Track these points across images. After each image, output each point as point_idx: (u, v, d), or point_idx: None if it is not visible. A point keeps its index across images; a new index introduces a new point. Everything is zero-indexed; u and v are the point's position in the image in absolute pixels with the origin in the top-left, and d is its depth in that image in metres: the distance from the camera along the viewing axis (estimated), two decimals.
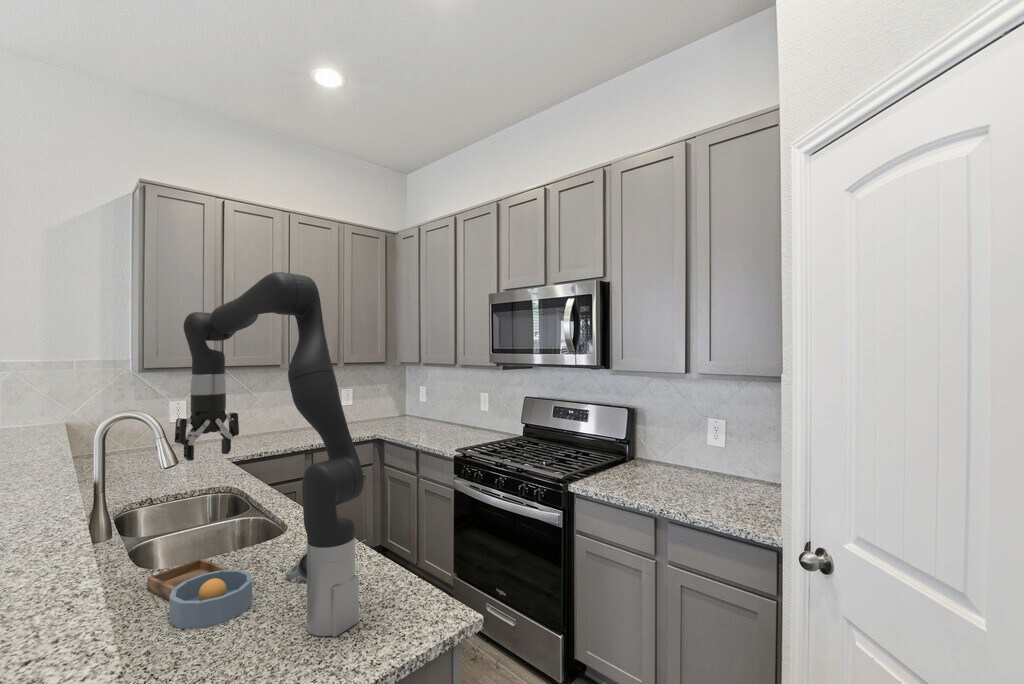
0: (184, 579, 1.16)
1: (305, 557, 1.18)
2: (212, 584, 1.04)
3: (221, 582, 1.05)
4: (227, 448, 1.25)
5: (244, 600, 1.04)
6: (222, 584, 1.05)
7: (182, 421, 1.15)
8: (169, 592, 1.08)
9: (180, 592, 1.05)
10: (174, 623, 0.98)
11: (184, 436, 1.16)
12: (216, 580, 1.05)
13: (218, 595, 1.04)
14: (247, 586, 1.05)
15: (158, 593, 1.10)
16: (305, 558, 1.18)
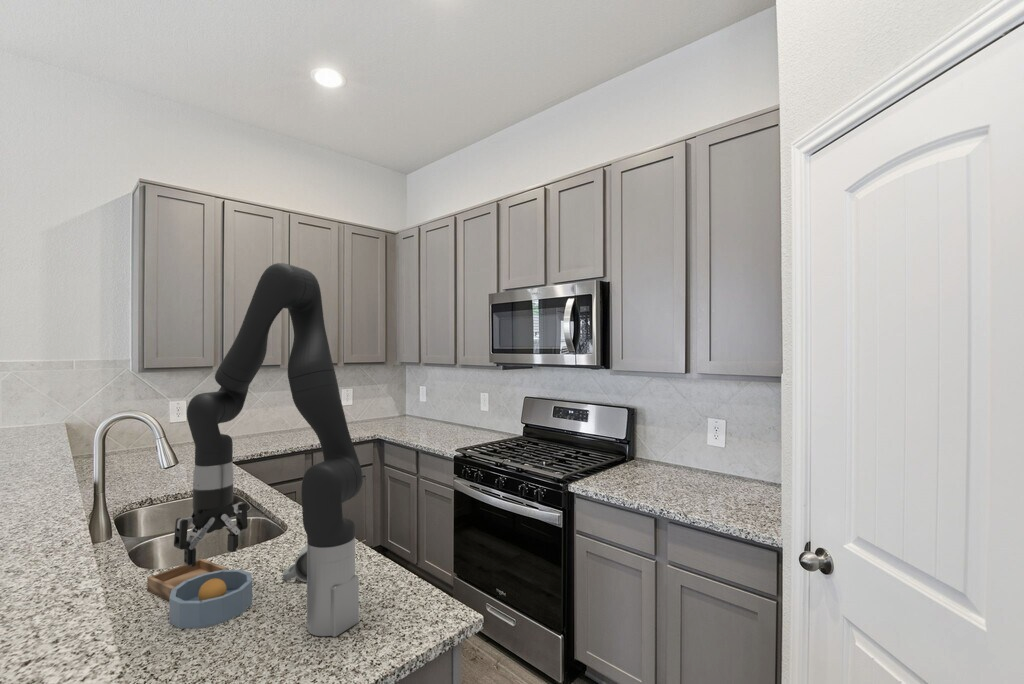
0: (184, 579, 1.16)
1: (302, 557, 1.18)
2: (212, 584, 1.04)
3: (221, 582, 1.05)
4: (234, 545, 1.08)
5: (244, 600, 1.04)
6: (222, 584, 1.05)
7: (183, 523, 0.99)
8: (169, 592, 1.08)
9: (180, 592, 1.05)
10: (174, 623, 0.98)
11: (185, 540, 1.00)
12: (216, 580, 1.05)
13: (218, 595, 1.04)
14: (247, 586, 1.05)
15: (158, 593, 1.10)
16: (302, 558, 1.18)
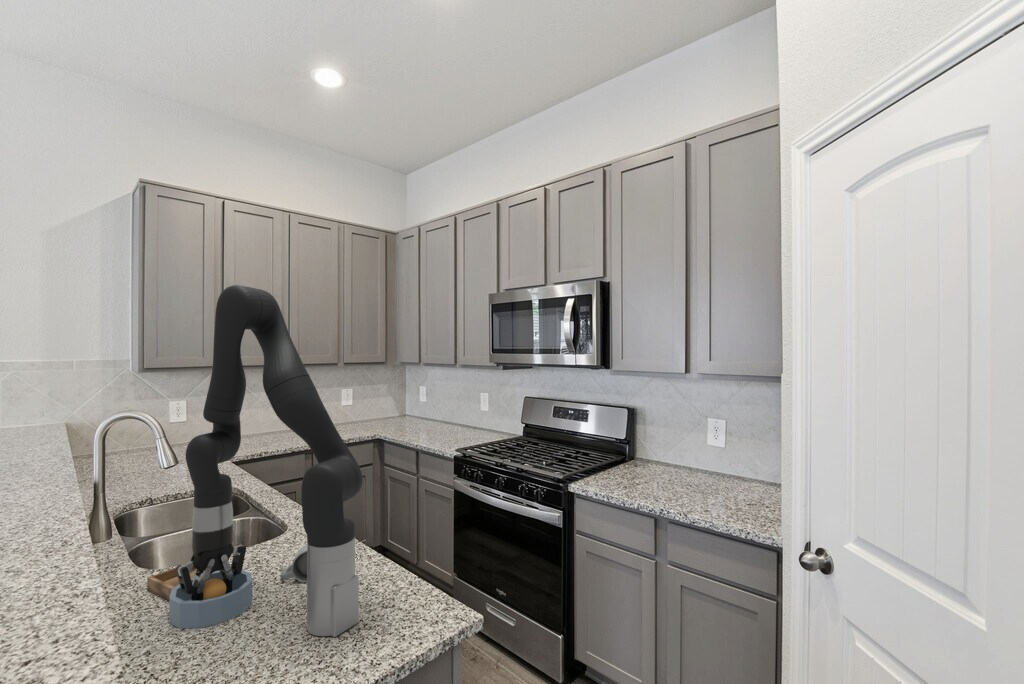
0: None
1: (299, 558, 1.18)
2: (212, 584, 1.04)
3: (221, 582, 1.05)
4: (228, 591, 1.07)
5: (244, 600, 1.04)
6: (222, 584, 1.05)
7: (183, 571, 0.99)
8: (169, 592, 1.08)
9: (180, 592, 1.05)
10: (174, 623, 0.98)
11: (190, 585, 1.00)
12: (216, 580, 1.05)
13: (218, 595, 1.04)
14: (247, 586, 1.05)
15: (158, 593, 1.10)
16: (299, 559, 1.18)
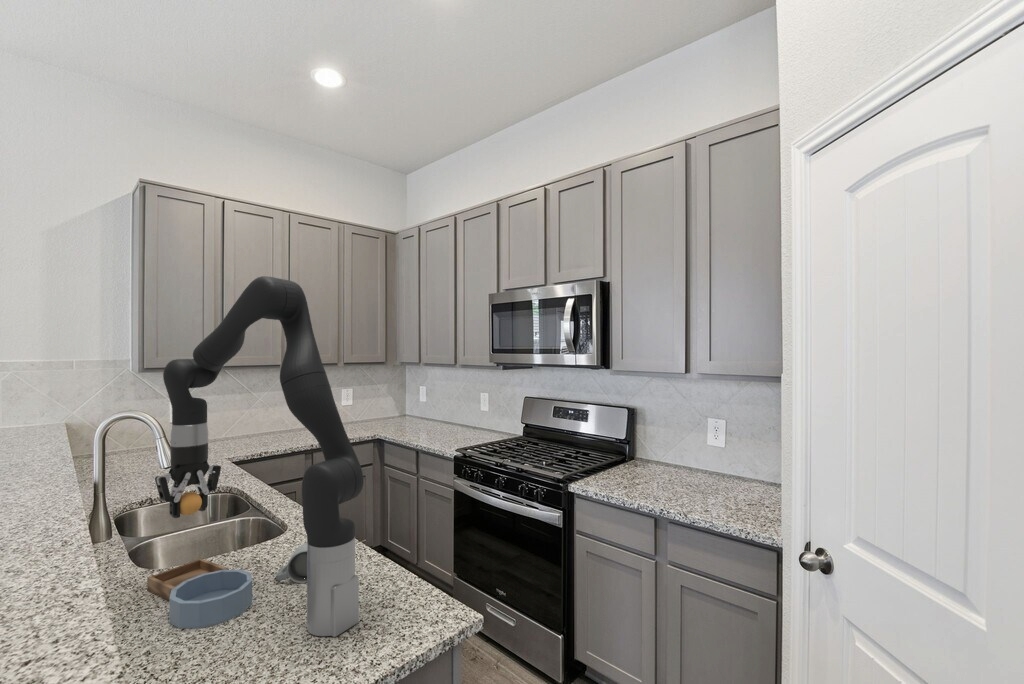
0: (184, 579, 1.16)
1: (295, 558, 1.18)
2: (189, 496, 1.14)
3: (197, 495, 1.16)
4: (203, 505, 1.17)
5: (244, 600, 1.04)
6: (198, 497, 1.16)
7: (161, 480, 1.09)
8: (169, 592, 1.08)
9: (180, 592, 1.05)
10: (174, 623, 0.98)
11: (168, 493, 1.11)
12: (192, 493, 1.16)
13: (194, 505, 1.14)
14: (247, 586, 1.05)
15: (158, 593, 1.10)
16: (295, 559, 1.18)
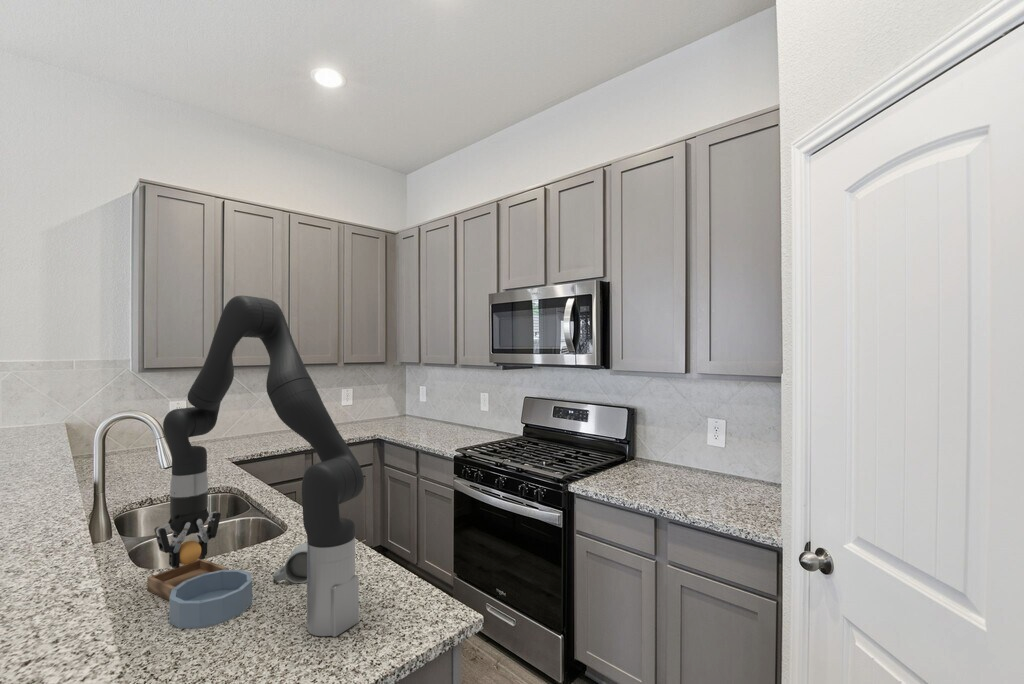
0: (184, 579, 1.16)
1: (292, 558, 1.18)
2: (188, 545, 1.14)
3: (196, 544, 1.16)
4: (203, 553, 1.17)
5: (244, 600, 1.04)
6: (197, 545, 1.16)
7: (161, 532, 1.09)
8: (169, 592, 1.08)
9: (180, 592, 1.05)
10: (174, 623, 0.98)
11: (168, 544, 1.11)
12: (192, 542, 1.15)
13: (193, 555, 1.14)
14: (247, 586, 1.05)
15: (158, 593, 1.10)
16: (292, 559, 1.18)
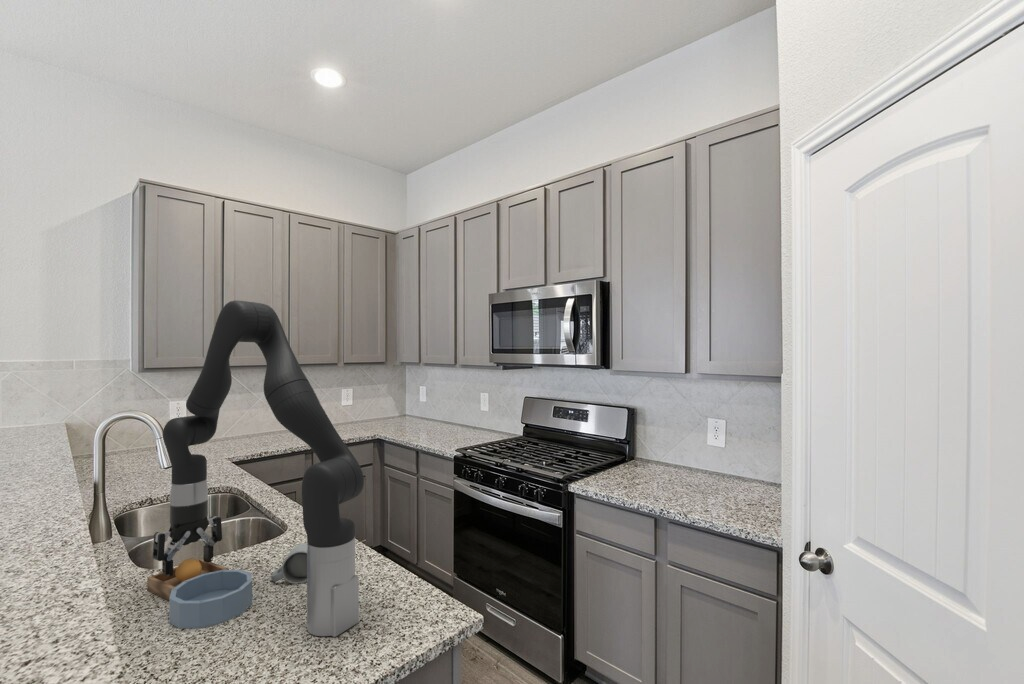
0: None
1: (290, 559, 1.18)
2: (188, 564, 1.14)
3: (196, 562, 1.16)
4: (209, 556, 1.18)
5: (244, 600, 1.04)
6: (197, 563, 1.15)
7: (160, 537, 1.09)
8: (169, 592, 1.08)
9: (180, 592, 1.05)
10: (174, 623, 0.98)
11: (162, 552, 1.10)
12: (192, 560, 1.15)
13: (193, 573, 1.14)
14: (247, 586, 1.05)
15: (158, 593, 1.10)
16: (290, 560, 1.17)
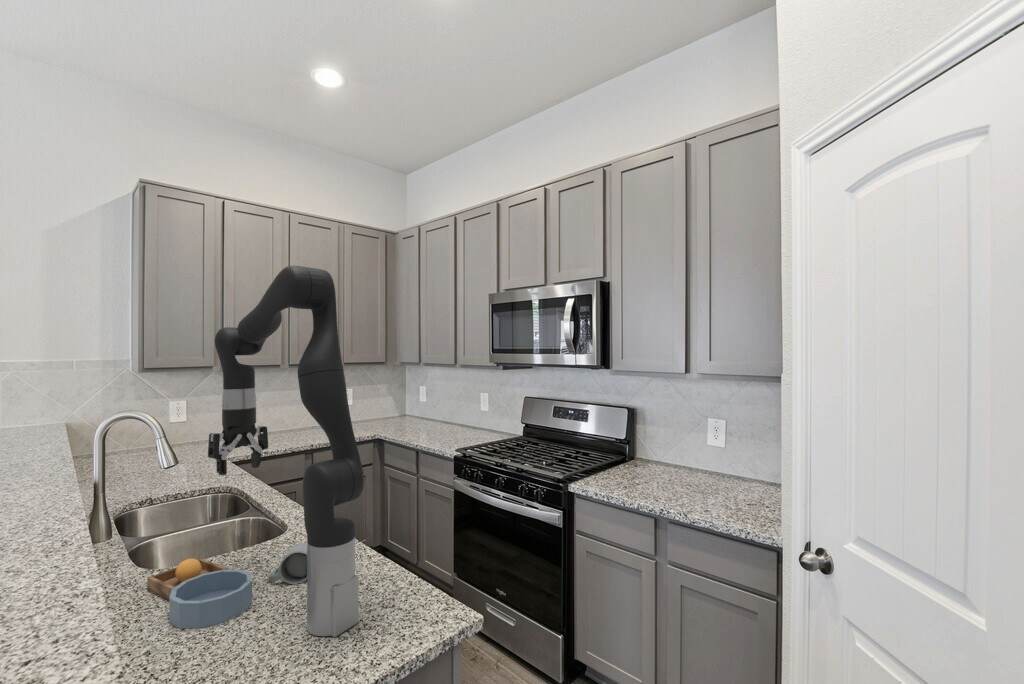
0: None
1: (288, 559, 1.17)
2: (188, 563, 1.14)
3: (196, 562, 1.16)
4: (257, 462, 1.25)
5: (244, 600, 1.04)
6: (197, 563, 1.16)
7: (215, 436, 1.16)
8: (169, 592, 1.08)
9: (180, 592, 1.05)
10: (174, 623, 0.98)
11: (217, 451, 1.16)
12: (192, 560, 1.15)
13: (193, 573, 1.14)
14: (247, 586, 1.05)
15: (158, 593, 1.10)
16: (288, 560, 1.17)
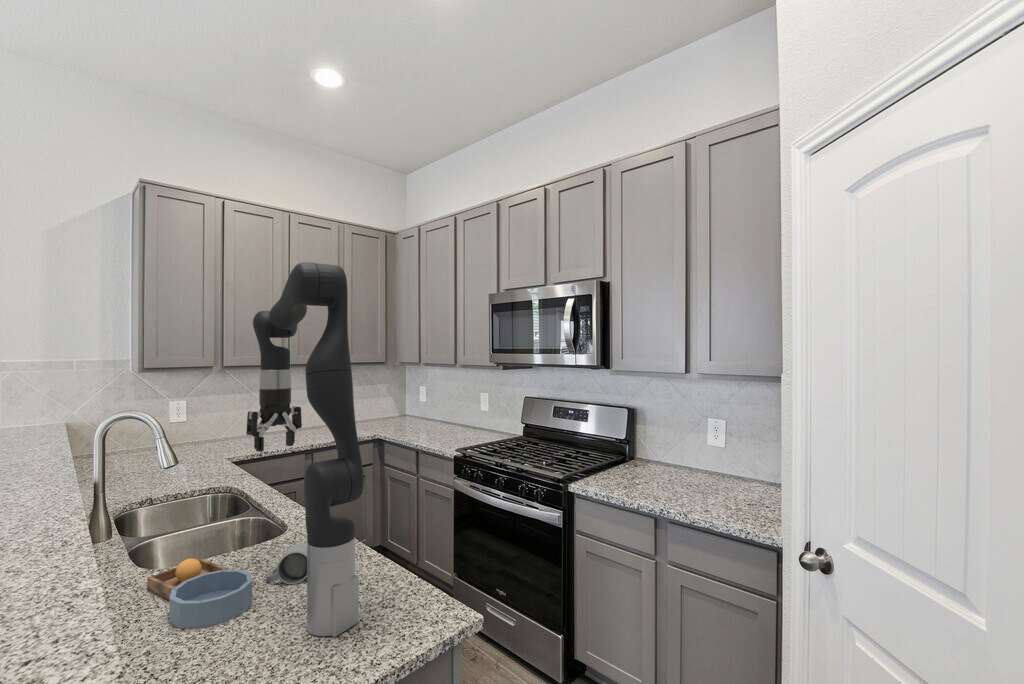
0: None
1: (285, 559, 1.17)
2: (188, 563, 1.14)
3: (196, 561, 1.16)
4: (292, 440, 1.31)
5: (244, 600, 1.04)
6: (197, 563, 1.16)
7: (254, 414, 1.21)
8: (169, 592, 1.08)
9: (180, 592, 1.05)
10: (174, 623, 0.98)
11: (255, 428, 1.22)
12: (192, 560, 1.15)
13: (193, 573, 1.14)
14: (247, 586, 1.05)
15: (158, 593, 1.10)
16: (285, 560, 1.17)
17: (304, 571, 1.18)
